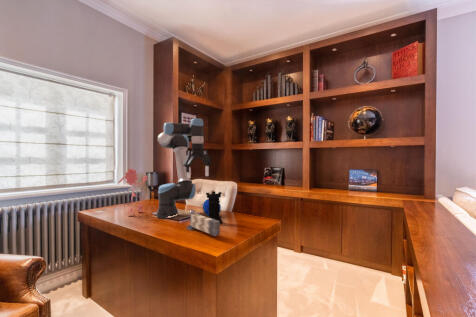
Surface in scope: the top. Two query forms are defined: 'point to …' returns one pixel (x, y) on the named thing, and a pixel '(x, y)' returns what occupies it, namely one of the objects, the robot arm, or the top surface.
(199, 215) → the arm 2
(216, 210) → the chess piece
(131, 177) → the figurine
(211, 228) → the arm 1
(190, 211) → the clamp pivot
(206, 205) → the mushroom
